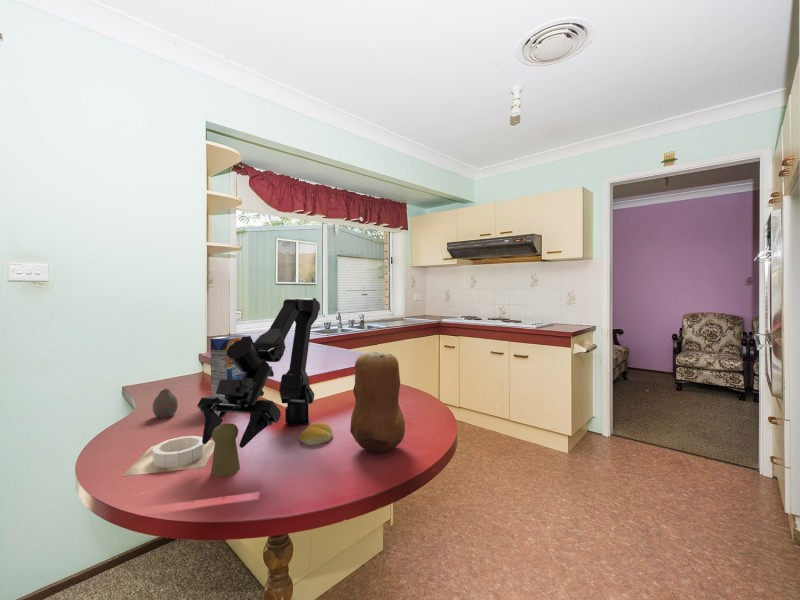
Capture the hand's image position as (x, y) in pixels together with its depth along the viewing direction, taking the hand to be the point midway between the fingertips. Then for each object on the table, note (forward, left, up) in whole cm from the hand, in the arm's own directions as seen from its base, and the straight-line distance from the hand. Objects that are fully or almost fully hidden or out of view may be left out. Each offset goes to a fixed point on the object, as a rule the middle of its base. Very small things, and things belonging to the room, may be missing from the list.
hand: (222, 445), depth 79 cm
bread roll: (-21, -16, -7) cm, 27 cm away
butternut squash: (-36, -5, -7) cm, 37 cm away
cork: (-1, -1, -7) cm, 7 cm away
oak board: (+12, -12, -7) cm, 19 cm away
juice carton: (+8, -60, -7) cm, 61 cm away
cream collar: (+11, -11, -6) cm, 17 cm away
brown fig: (+27, -48, -7) cm, 55 cm away
